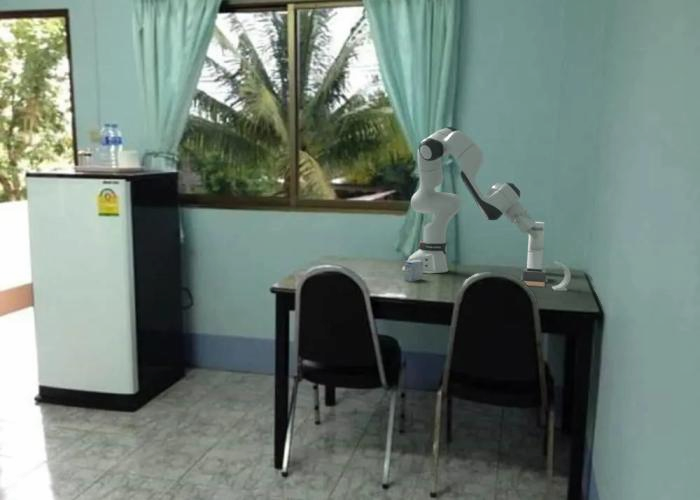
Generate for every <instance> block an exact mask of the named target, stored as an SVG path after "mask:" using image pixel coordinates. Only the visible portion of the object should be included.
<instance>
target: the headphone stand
mask: <svg viewBox="0 0 700 500" xmlns="http://www.w3.org/2000/svg"><path fill="white" fill-rule="evenodd" d="M553 264H556V265H558V266H560V267H562V269H563V271H564V277H563V278H562V281H561V282H560V283H559V284H557V285H553V286H551V289H553V290H554V291H564V292H565V291H568V288H567V286H568V284H569V282H570V281H571V271H570V268H569V267H568V266H567V265H565V264H564V263H562V262H560V261H558V260H557V261H556V260H553Z"/></svg>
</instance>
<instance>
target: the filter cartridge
mask: <svg viewBox="0 0 700 500" xmlns="http://www.w3.org/2000/svg"><path fill="white" fill-rule="evenodd" d="M531 229H532V230H533V231H534V232H535V233H536V234H537V235H538V237H537V238H536V239H534V238H533V237H532V236H531V244H530V250H533V251H542V241H543V227H533V228H531Z"/></svg>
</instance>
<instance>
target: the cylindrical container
mask: <svg viewBox="0 0 700 500" xmlns="http://www.w3.org/2000/svg"><path fill="white" fill-rule="evenodd" d="M535 223H536V224H537V225H536V226H535V227H543V241H542V251H533V250H530V244H531V235H530V234H529V233H528V242H527V244H528V245H527V258H526V259H527V260H526V268H536V269H543V257H544V240H545V225H546V222H544V221H535Z"/></svg>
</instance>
